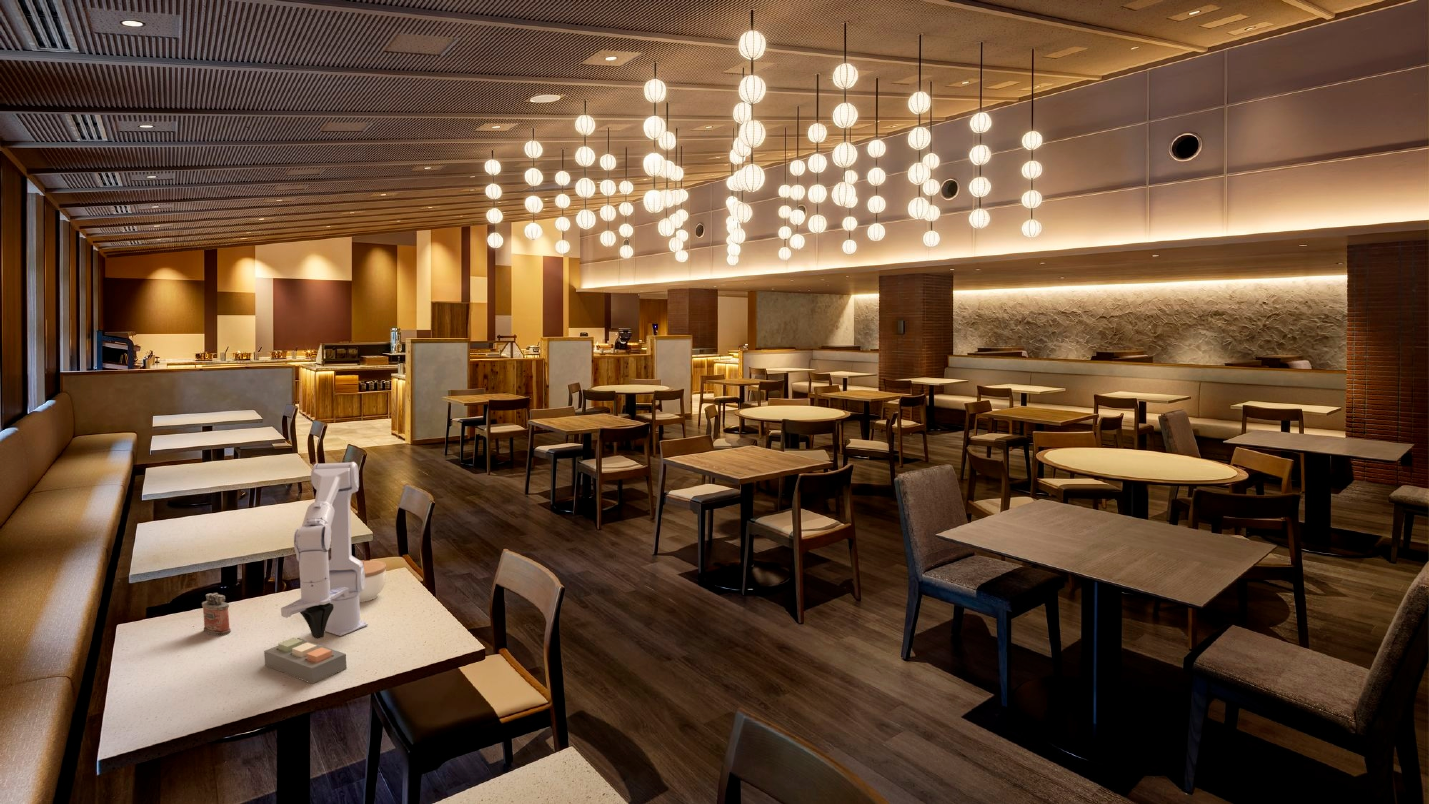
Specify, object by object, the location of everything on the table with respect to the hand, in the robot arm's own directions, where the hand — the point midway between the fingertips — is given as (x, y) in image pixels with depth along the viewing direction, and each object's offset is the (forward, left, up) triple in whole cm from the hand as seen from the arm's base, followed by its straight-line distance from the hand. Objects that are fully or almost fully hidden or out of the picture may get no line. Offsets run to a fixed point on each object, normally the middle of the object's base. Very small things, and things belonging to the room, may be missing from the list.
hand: (318, 637), depth 160 cm
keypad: (-5, 0, -8) cm, 10 cm away
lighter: (-44, +1, -9) cm, 45 cm away
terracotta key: (0, 0, -6) cm, 6 cm away
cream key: (-5, 0, -6) cm, 8 cm away
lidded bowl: (-32, +34, -9) cm, 48 cm away
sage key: (-11, 0, -6) cm, 12 cm away
